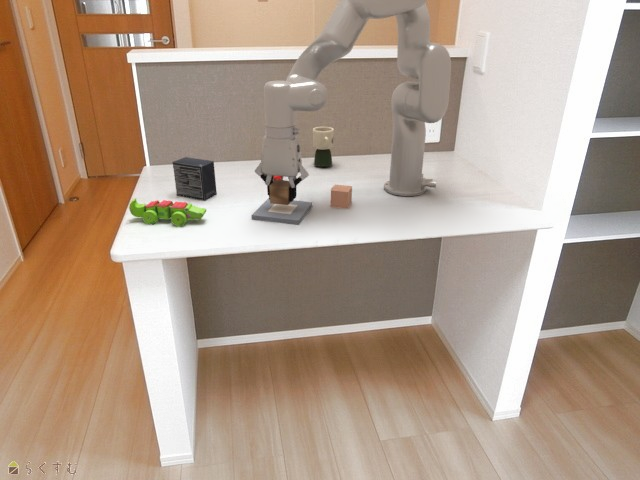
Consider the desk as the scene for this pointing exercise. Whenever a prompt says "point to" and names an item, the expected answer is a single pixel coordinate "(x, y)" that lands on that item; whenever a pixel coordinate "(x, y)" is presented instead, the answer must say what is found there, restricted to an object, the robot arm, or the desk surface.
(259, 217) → the board
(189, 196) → the small box
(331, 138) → the character mug
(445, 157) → the desk surface
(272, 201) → the walnut cube
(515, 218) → the desk surface
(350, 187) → the terracotta cube
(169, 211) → the toy crocodile
